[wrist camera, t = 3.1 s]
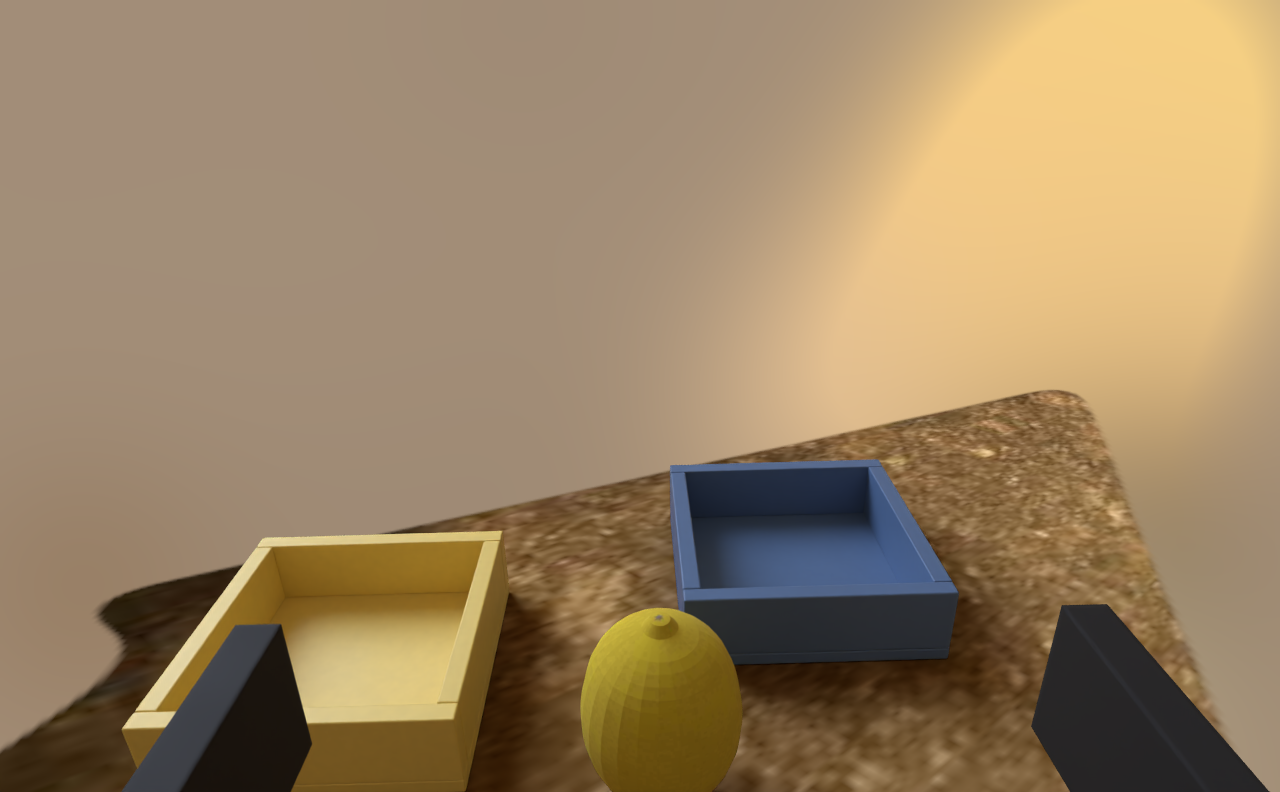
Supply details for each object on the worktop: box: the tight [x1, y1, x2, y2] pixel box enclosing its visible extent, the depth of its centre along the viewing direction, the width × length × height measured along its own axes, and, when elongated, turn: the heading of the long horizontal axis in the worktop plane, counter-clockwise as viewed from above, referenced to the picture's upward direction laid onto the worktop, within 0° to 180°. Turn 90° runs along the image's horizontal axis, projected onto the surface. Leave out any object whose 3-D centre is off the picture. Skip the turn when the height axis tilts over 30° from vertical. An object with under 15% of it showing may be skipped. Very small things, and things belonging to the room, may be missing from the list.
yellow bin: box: [122, 531, 509, 792], centre depth 33 cm, size 12×12×4 cm
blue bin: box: [670, 460, 959, 665], centre depth 39 cm, size 12×12×4 cm
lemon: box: [581, 608, 742, 792], centre depth 27 cm, size 6×6×8 cm
